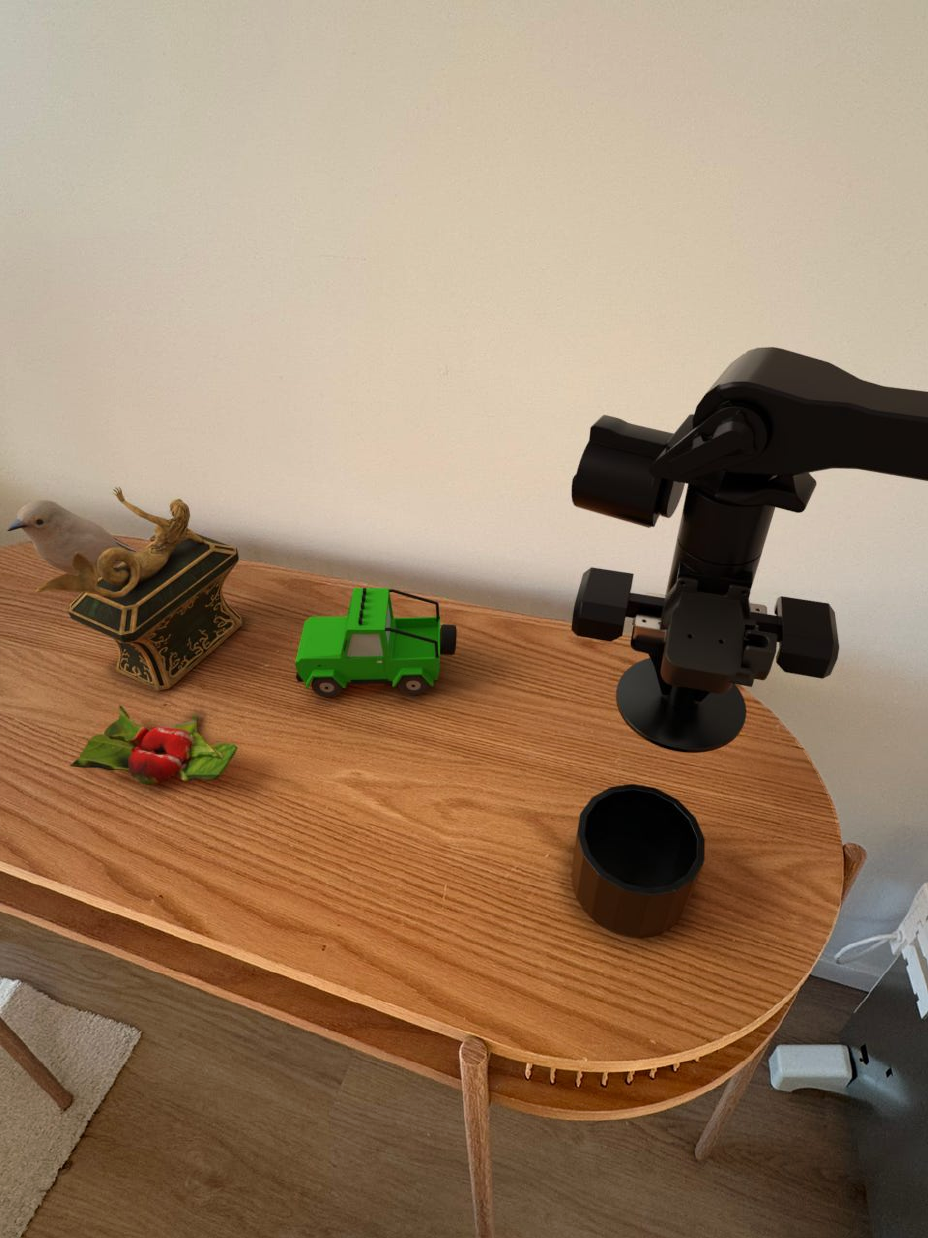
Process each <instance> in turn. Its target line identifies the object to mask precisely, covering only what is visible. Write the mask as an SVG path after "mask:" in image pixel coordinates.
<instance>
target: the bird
mask: <svg viewBox="0 0 928 1238" xmlns="http://www.w3.org/2000/svg"><path fill="white" fill-rule="evenodd" d="M18 529H21V530H23V532H25V534H26V536H27V537H28V538H29V540H30V541H31V543H32V544H33V547H34V549H35V551H36V553H37V555H39V558H40V559H42V560H43V561H44V562H45V563H46V564H48V565H50V566H51V567H53V568H56V569H58V570H60V571H62V572H65V573H72V574H75V575H77V574H78V572H77V571H76V570H75V569H74V568H73V565H72V562H73V556H74V554H75V553H76V552H79V553H81V554H82V555H84V556H85V557H86V558H88V559H89V560H90V561H91V562H92V563H93V564H94V566H95V567H96V569H97V562H98V559H99V557H100V555H101V554H102V553H103V552H104V551H106V550H107V549H110V548H123V549H126V550H128V551H130V552H131V553H133V554H134V553H135V552H137V551H138V550H137V549H135V548H133V547H132V545H131V544H129V543H127V542H124V541H123V540H121V539H118V538H116V537H115V536H113V535H112V534H111V533H110V532H108V531H107V530H106V529H104V527H102V526H100V525H99V524H97V523H96V522H95V521H92V520H90V519H88V518H84V517H82V516H79V515H78V514H76V513H73V512H71V511H70V510H68V509H66V508H64V507H63V506H61V505H59V504H58V503H57V502H55V501H52V500H45V499H39V500H38V499H37V500H34V501H31V502H29V503H26V504H25V505H23V506H22V507H21V509H19V511H18V512H17V515H16V519H15V520H14V521H13V522H12V523H11V524H10V526H9V527H8V529H7V530H6V531H7V532H12V531H15V530H18ZM121 563H123V561H116V562H115V563H114V565H113V567H117V566H118V565H120V564H121ZM97 573H98V579H99V578H101V576H100V574H99V572H98V570H97Z"/></svg>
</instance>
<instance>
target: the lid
mask: <svg viewBox="0 0 928 1238" xmlns="http://www.w3.org/2000/svg"><path fill="white" fill-rule="evenodd" d="M615 690H616V691H615V703H616V707H617V711H618V713H619V714H620V717H621V718H622V719H623V721H624V722H625V724H626V725H627V726H628V727H629V728H630V729H631V730H632V731H633V732H634V733H635V734H637V736H639V737H641V738H642V739H644V740H645V741H647V742H649V743H650V744H652V745H654V746H656V747H659V748H662V749H665V750H669V751H672V752H677V753H686V754H701V753H707V752H712V751H716V750H719V749H721V748H723V747H725V746H727V745H729V744H730V743H731V742H733V741H734V740H735V739H736V738H737V737H739V735H740V734H741V732H742V730H743V728H744V725H745V723H746V718H747V705H746V704H747V703H746V701H745V698H744V696H743V694H742V691H741V689H739V687H738V686H737V684H732V686H731V688H730V690H729V691H727V692H726V693H723V694H714V693H709V694H708V695H707V696H706V697H705V698H704V699H703V700H702V701H701V702H697V701H696V697H697V694H698V690H699V689H694V688H688V687H676V686H672V685H669V689H668V693H667V695H666V696H665V695H662V693H661V690H660V686H659V682H658V679H657V675H656V671H655V668H654V665H653V663H652V661H651V658H650V657H648V658H645V659H641V660H639V661H637V662H636V663H634V664H632V665H631V666H629V667H628V668H627V669H626V670H624V672H623V673H622V675H621V676H620V678H619V680H618V682H617V685H616V689H615Z"/></svg>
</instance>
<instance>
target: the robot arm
mask: <svg viewBox="0 0 928 1238" xmlns="http://www.w3.org/2000/svg"><path fill="white" fill-rule="evenodd" d="M831 469H837V470H838V469H841V470H843V469H845V470H861V471H866V472H873V473H879V474H884V475H890V476H894V477H895V476H896V477H901V478H908V479H911V480H912V479H913V480H919V481H925V482H928V391H926V390H918V389H909V388H901V387H894V386H885V385H881V384H877V383H874V382H870V381H868V380H864V379H861V378H859V377H857V376H855V375H853V374H852V373H850V372H848V371H846V370H844V369H843V368H841V367H839V366H837V365H835V364H834V363H831V362H829V361H826V360H823V359H819V358H815V357H813V356H808V355H805V354H802V353H798V352H795V351H792V350H791V351H790V350H788V349H784V348H780V347H775V346H767V347H766V346H765V347H764V346H763V347H755V348H752V349H749V350H747V351H746V352H745V353H743V354H741V355H740V356H738V357H737V358H736V359H734V360H733V361H732V362H730V364H728V366H727V367H726V368H725V370H724V371H723V372H722V373H721V375H719V376H718V378H717V379H716V381H715V382H714V383H712V385H711V387H710V388H709V389H708V390H707V391H706V392H705V394H704V395H703V397H702V398H701V400H700V401H699V402H698V404H697V405H696V407H695V411H694V413H691V414H689V415H688V416H687V417H686V418H685V420H684V421H683V422H682V423H681V424H680V426H679V427H678V428H677V429H676V431H674V432H669V431H666V430H665V431H664V430H661V429H656V428H653V427H652V428H651V427H647V426H643V425H638V424H634V423H631V422H628V421H626V420H624V419H623V418H622V419H621V418H619V417H616V416H611V415H607V414H603V415H601V416H599V418H598V419H597V420H596V421H595V422H594V423H593V424H592V425H591V426H590V428H589V438H588V442H587V443H586V445H585V447H584V450H583V452H582V454H581V457H580V459H579V463H578V466H577V469H576V473H575V475H574V476H573V477H572V480H571V494H570V495H571V501H572V504H573V506H574V507H576V508H578V509H582V510H585V511H589V512H593V513H596V514H600V515H603V516H605V517H609V518H614V519H617V520H620V521H623V522H627V523H630V524H634V525H637V526H641V527H644V528H647V529H650V528H655V526H656V524H657V521H658V520H659V518H660V517H662V518H667V519H670V518H672V516H673V515H674V514H675V512H676V510H677V508H678V506H679V503H680V501H681V498H682V496H683V492H684V489H685V486H686V484H687V486H686V487H687V488H686V492H685V496H684V497H685V498H684V502H683V507H682V512H681V516H680V522H679V527H678V532H677V537H676V541H675V547H674V550H673V551H674V552H673V557H672V560H671V561H672V562H671V567H670V570H669V576H668V581H667V585H666V589H665V591H666V592H665V594H661V593H655V592H647V593H646V594H641V593H635V592H632V587H633V581H634V575H635V574H634V573H631V572H625V571H619V570H618V571H617V570H611V569H605V568H599V567H593V566H591V567H589V568H588V569H587V570H586V571H584V572H583V573H582V576H581V580H580V583H579V587H578V591H577V594H576V598H575V601H574V606H573V611H572V617H571V618H572V620H571V629H570V631H572V632H573V634H574V635H576V636H577V637H580V638H586V639H593V640H598V641H604V642H610V643H611V642H613V641H615V640H617V639H619V638H621V637H623V634H624V629H625V622H626V618H630V619H632V622H631V623H632V624H631V625H632V631H631V637H630V643H629V645H630V648H631V649H632V650H633V651H635V652H637V653H643V654H646V655H648V657H649V658H651V661H652V663H653V665H654V668H655V671H656V675H657V679H658V682H659V686H660V690H661V693H662V695H665V696H666V695H667V693H668V689H669V685H672V686H676V687H688V688H694V689H699V690H698V694H697V697H696V701H697V702H701V701H702V700H703V699H704V698H705V697H706V696H707V695H708V694H709V693H714V694H723V693H726V692H727V691H729V690H730V688H731V686H732V684H735V685H736V686H737V685H738V686H743V687H749V688H752V687H753V685H754V681H755V680H758V681H765V680H767V678H768V676H769V674H770V673H771V669H772V667H773V663H774V660H775V663H776V664H777V665H778V666H779V668H780V669H781V670H782V672H784V673H787V674H793V675H798V676H803V677H804V676H805V677H810V678H816V679H821V680H823V679H825V678H827V677H829V676H831V675H832V673H833V671H834V669H835V665H836V663H837V662H838V659H839V658H838V657H839V652H840V641H839V634H838V626H837V618H836V612H835V610H834V608H833V607H832V606H831V604H830V603H829V602H822V601H815V600H809V599H802V598H796V597H790V596H781V595H780V596H779V597H777V598H776V601H775V605H774V606H773V607H774V608H773V612H774V614H769V613H768V607H767V605H765V604H761V603H760V604H759V603H753V602H750V597H751V596H750V595H751V591H752V587H753V584H754V581H755V577H756V574H757V571H758V567H759V564H760V561H761V558H762V554H763V552H764V551H763V550H764V547H765V544H766V540H767V537H768V533H769V530H770V528H771V527H770V526H771V523H772V520H773V517H774V514H775V511H776V508H777V509H781V510H785V511H789V512H792V513H797V514H801V513H803V512H804V511H805V510H806V509H807V506H808V504H809V502H810V500H811V497H812V495H813V493H814V491H815V489H816V487H817V484H818V483H817V481H816V479H815V478H814V477H813V476H812V475H811V473H815V472H821V471H826V470H831ZM777 647H778V650H777Z"/></svg>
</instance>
